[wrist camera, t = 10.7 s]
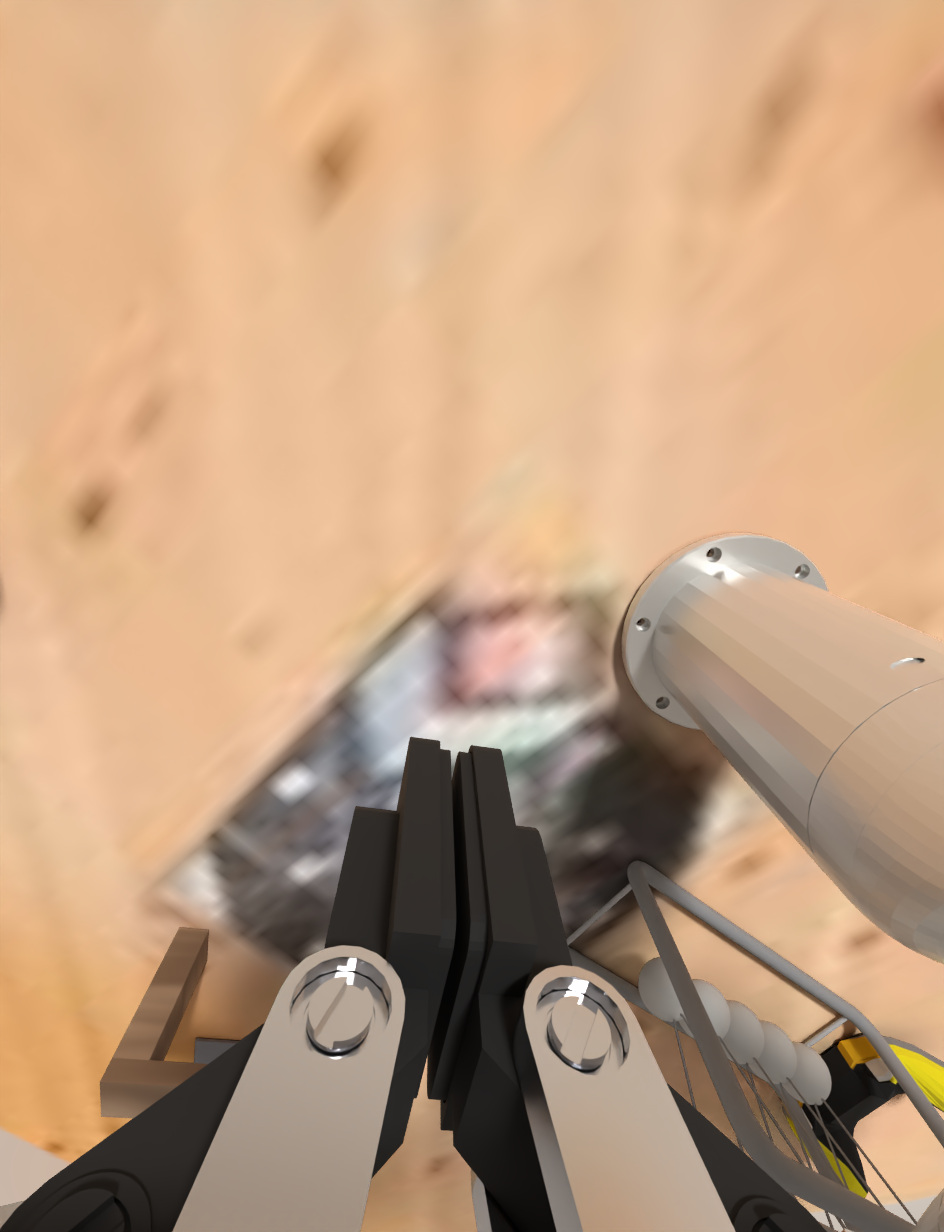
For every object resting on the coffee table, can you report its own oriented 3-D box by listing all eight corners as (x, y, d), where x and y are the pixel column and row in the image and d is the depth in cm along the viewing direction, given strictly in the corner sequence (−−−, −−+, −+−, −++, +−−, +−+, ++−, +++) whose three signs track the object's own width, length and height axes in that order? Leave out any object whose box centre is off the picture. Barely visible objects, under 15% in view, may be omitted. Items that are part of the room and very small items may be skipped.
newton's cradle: (867, 1013, 47) (1108, 1344, 30) (775, 1080, 49) (950, 1421, 32) (626, 846, 39) (768, 1164, 22) (529, 934, 41) (592, 1282, 24)
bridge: (179, 927, 39) (100, 1081, 30) (388, 946, 41) (373, 1097, 31) (178, 957, 40) (101, 1116, 31) (382, 975, 42) (366, 1130, 32)
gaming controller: (943, 1046, 49) (878, 1002, 46) (1003, 1120, 44) (933, 1075, 41) (814, 1135, 52) (747, 1098, 50) (856, 1213, 47) (784, 1176, 44)
